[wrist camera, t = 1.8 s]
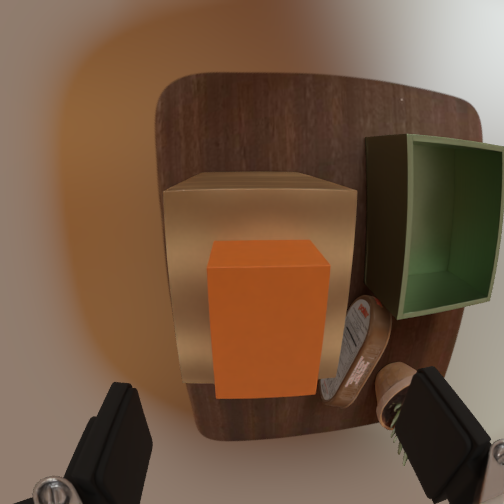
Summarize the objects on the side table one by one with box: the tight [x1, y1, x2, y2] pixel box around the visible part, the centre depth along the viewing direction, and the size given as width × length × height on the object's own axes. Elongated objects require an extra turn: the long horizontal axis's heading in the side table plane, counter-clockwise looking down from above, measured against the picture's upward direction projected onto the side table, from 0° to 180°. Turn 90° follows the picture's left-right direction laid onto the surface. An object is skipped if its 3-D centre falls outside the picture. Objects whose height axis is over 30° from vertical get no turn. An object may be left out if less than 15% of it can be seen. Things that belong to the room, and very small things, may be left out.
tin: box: [319, 295, 392, 408], centre depth 35 cm, size 15×3×8 cm, turn 163°
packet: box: [207, 240, 331, 399], centre depth 16 cm, size 7×5×4 cm
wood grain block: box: [163, 171, 357, 384], centre depth 26 cm, size 12×10×18 cm
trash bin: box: [364, 134, 504, 320], centre depth 30 cm, size 13×17×10 cm
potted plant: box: [375, 362, 417, 466], centre depth 30 cm, size 10×10×25 cm
